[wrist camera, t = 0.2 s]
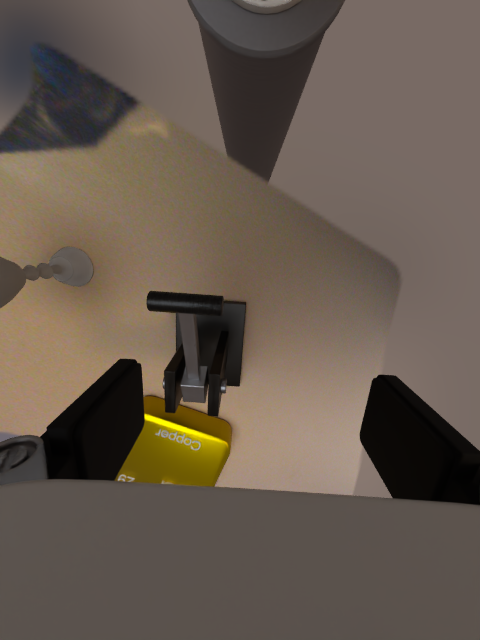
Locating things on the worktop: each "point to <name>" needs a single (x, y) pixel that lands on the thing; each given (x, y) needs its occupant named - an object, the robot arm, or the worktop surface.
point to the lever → (189, 335)
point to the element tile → (177, 447)
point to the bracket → (210, 356)
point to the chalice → (45, 272)
